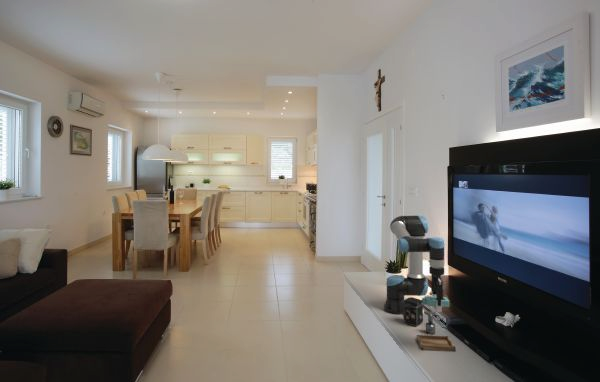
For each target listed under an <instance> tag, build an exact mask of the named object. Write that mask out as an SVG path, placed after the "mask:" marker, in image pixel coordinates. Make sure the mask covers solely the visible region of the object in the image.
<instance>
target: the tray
mask: <svg viewBox="0 0 600 382" xmlns="http://www.w3.org/2000/svg"><path fill="white" fill-rule="evenodd" d="M416 340H417V343H418V345H419V347H420V350H421V351H435V352H436V351H439V352H456V346H455V344H454V342H453V341H452V340H451V338H450V337H449V335H429V334H427V335H426V334H416Z"/></svg>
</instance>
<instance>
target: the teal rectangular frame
mask: <svg viewBox="0 0 600 382" xmlns="http://www.w3.org/2000/svg"><path fill="white" fill-rule="evenodd" d="M435 299H437V297H432V296H427V295H424V297H422V298H421V300H422V304H423V306H427V307H433V306H434V308H436V300H435ZM446 307H447V308H450V300H449V299H448V298H447V296H443V300H442V308H446Z"/></svg>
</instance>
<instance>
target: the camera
mask: <svg viewBox="0 0 600 382" xmlns="http://www.w3.org/2000/svg"><path fill="white" fill-rule="evenodd" d="M402 312H403V314H402V317H403V320H404V321H405V324H407V325H411V326H413V327H417V326H419V325H421V324H422V323H423V322H424V305H423V304H422V299H420V298H416V297H414V296H413V297H411V296H409V297H407V298H404V310H402Z"/></svg>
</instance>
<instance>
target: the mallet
mask: <svg viewBox="0 0 600 382" xmlns="http://www.w3.org/2000/svg"><path fill="white" fill-rule="evenodd" d="M424 313H425V315H426V316H428V318H427V322H426V323H425V333H426V334H427V335H429V334H431V335H432V336H435V334H436V324H435V323H434V321H433V319H434V318H433V316H436V315H437V312H436V311H430V310H429V311H427V310H426V311H424Z"/></svg>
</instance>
